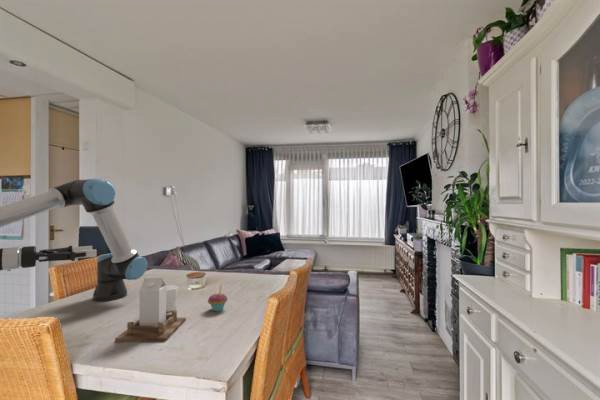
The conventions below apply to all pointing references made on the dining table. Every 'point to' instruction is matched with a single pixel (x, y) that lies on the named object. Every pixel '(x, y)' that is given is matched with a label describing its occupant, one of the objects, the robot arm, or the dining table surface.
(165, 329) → the walnut stand
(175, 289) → the white cup
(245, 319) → the dining table surface
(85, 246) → the robot arm
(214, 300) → the cupcake
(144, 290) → the milk carton
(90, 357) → the dining table surface
